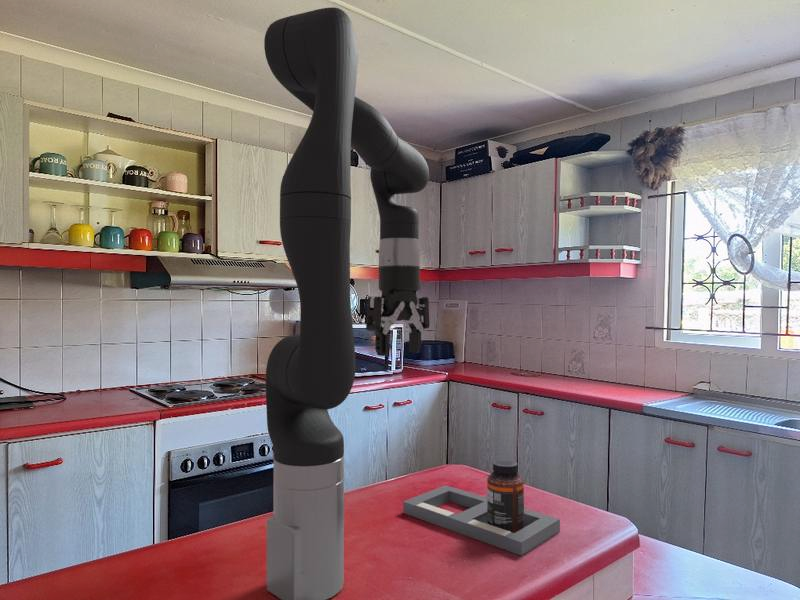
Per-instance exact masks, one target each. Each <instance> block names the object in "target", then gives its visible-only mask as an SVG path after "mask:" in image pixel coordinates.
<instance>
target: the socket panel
mask: <svg viewBox="0 0 800 600" xmlns="http://www.w3.org/2000/svg"><path fill="white" fill-rule="evenodd" d="M449 502H450V503H453V504H457V505H459V506H463V507H466V508H467V509H465V510H462V511H461V512H459V513H455V512H453V511H449V510H447V509H444V508H440V507H439V506H441V505H442V506H443V505H444V504H446V503H449ZM402 505H403V506H402V512H403V514H406V515H408V516H411V517H413V518H417V519H418V520H419V519H420V520H422V521H424V522H427V523H431V524H434V525H436V526H439V527H441V528H445V529H447V530H448V531H452V532H455V533H457V534H461V535H462V536H467V537H469V538H471V539H475V540H477V541H480V542H481V543H485V544H488V545H490V546H494V547H497V548H500V549H502V550H504V549H505V551H508V552H510V553H513V554H516V555H519V556H521V555H522V556H524V555H525V554H527V553H528V552H530V551H531V550H533V549H534V548H536V547H538V546H539V545H541V544H542V543H544V542H545V541H547V540H548V539H550V538H551V537H553V536H555V535H556V534H558V533H559V532H561V519H560V518H558V517H555V516H552V515H548V514H546V513H545V514H544V513H541V512H537V511H535V510H531V509H527V508H525V507H524V528H523V529H521V530H519V531H517V532H516V533H512V532H510V531H507V530H504V529H501V528H498V527H495V526H492V525H489V524H487V496H484V495H480V494H476V493H473V492H470V491H467V490H463V489H460V488H456V487H453V486H449V485H446V484H445V485H441V486H440V487H436V488H435V489H431V490H429V491H427V492H424V493H421V494H419V495H417V496H415V497H411V498H409V499H406V500H404V501H402ZM523 554H524V555H523Z"/></svg>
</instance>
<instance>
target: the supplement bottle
mask: <svg viewBox="0 0 800 600" xmlns="http://www.w3.org/2000/svg"><path fill="white" fill-rule="evenodd" d="M518 466H519V465H518V462H517V461H515V460H511V459H496V460H494V461H493V462H492V470H493V471H492V472H491V473H490V474H489V475H488V477H487V479H486V481H487V482H486V483H487V484H486V485H487V486H486V487H487V488H486V491H487V492H486V493H487V495H486V497H487V524H489V525H492V526H495V527H498V528H501V529H504V530H507V531H510V532H512V533H516V532H517V531H519V530H521V529H523V528H524V527H525V525H524V508H525V493H524V492H525V486H524V485H525V484H524V481H525V480H524V478H523V476H521V475H520V474H519V472H518V471H519V469H518Z"/></svg>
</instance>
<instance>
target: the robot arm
mask: <svg viewBox="0 0 800 600" xmlns="http://www.w3.org/2000/svg"><path fill="white" fill-rule="evenodd" d="M355 31H356V30H355V29H354V25H353V22H352V20H351V18H350V17H349V15H348V14H347V12H345V11H344V10H342V9H341V8H339V7H323V8H318V9H313V10H309V11H305V12H301V13H298V14H293V15H289V16H286V17H282V18H278V19H277V20H275V21H273V22H271V24H269V26H268V27H267V30H266V32H265V35H264V40H263V41H264V42H263V45H264V46H263V48H264V54H265V58H266V62H267V64H268V67H269V69H270V71H271V73H272V74H273V76H274V78H275V79H276V80H277V82H278V83H279V84H281V86H282V87H283V88H284V89H286V91H288V93H290V94H291V95H292V96H294V97H295V98H296V99H298V101H300V102H301V103H302V104H304V105H305V106H306V107H308V108H309V109H310V110H311V111H312V116H311V119H310V122H309V124H308V127H307V129H306V131H305V132H304V134H303V137H302V138H301V140H300V142H299V144H298V146H297V147H296V149H295V151H294V153H293V154H292V156H291V158H290V160H289V163H288V164H287V166H286V168H285V171H284V173H283V176H282V178H281V179H282V180H281V183H280V190H279V231H280V238H281V244H282V246H283V247H282V248H283V251H284V253H285V256H286V259H287V262H288V265H289V267H290V269H291V273H292V274H293V277H294V281H295V283H296V287H297V290H298V296H299V304H300V317H299V320H300V321H299V322H300V324H299V334H292V335H288V336H285V337H283V338H282V339H279V340H278V342H277V343H275V345H273V348H272V349H271V351H270V353H269V356H268V359H267V362H266V368H265V401H266V402H265V403H266V426H267V433H268V436H269V439H270V441H271V444H272V449H273V453H272V455H273V481H272V482H273V483H272V484H273V490H272V491H273V497H272V498H273V500H272V501H273V507H272V508H273V513H272V514H273V515H272V516H269V517H267V519H266V590H267V592H268V593H271V594H273V595H274V596H276V597H277V598H279V599H280V600H329V599H331V598H333V597H335V596H336V595H337V594H339V593H340V592H341V590H342V589H343V587H344V582H345V581H344V580H345V579H344V576H345V575H344V574H345V573H344V570H345V568H344V565H345V563H344V562H345V559H344V558H345V554H344V553H345V551H344V550H345V549H344V548H345V547H344V546H345V545H344V544H345V540H344V539H345V533H344V532H345V530H344V529H345V521H344V520H345V503H344V502H345V441H344V440H345V439H344V436H343V435H344V434H342V432H341V430H340V429H339V428H338V426H336V425H335V424H334V421H333V420H332V419H331V416H330V414H329V410H332V409H334V408H336V407H338V406H340V405H341V404H342V403H343V402H344V401H345V400H346V399H347V398H348V396H349V395H350V393H351V391H352V388H353V385H354V382H355V378H356V370H357V369H356V364H357V363H356V350H355V348H356V347H355V338H354V337H355V335H354V326H353V316H352V305H351V303H352V301H351V258H350V257H351V255H350V254H351V252H350V251H351V246H350V245H351V226H352V225H351V222H352V192H351V191H352V189H351V186H352V185H351V163H352V159H351V153H352V152H351V151H352V150H351V149H353V150H354V151H355V152H356V154H357V155H358V156H359V157H360V159H362V161H363V162H364V163H365V164H366V165H367V167H369V168H370V174H369V176H370V177H369V179H370V182H371V186H372V189H373V194H374V197H375V200H376V204H377V205H376V206H377V210H378V215H379V247H378V290H379V291H381V296H368V297H367V300H366V321H365V323H366V324H365V328H366V330H367V331H370V332H372V333H374V335H375V336H374V337H375V347H374V348H375V353H376V355H377V356H380V357H381V356H382V357H386V356H389V334H388V333H389V331H390V329H391V327H392V326H393V325H395V323H396V322H399V321H400V322H401V321H403V323H404V324H406V326H407V328H408V329H409V331H410V332H408V351H409V352H410V353H415V354H416V353H417V354H418V353H420V352H421V348H422V332H424V330H426V329H429V328H430V304H429V303H430V302H429V297H427V296H417V292H418V291H420V289H421V253H420V252H421V251H420V245H419V244H420V243H419V242H420V241H419V237H420V236H419V232H420V231H419V230H420V229H419V220H420V219H419V213H418V210H417V209H416V208H415V207H411V206H408V205H407V206H406V205H400V204H397V202H396V199H395V195H404V194H405V195H407V194H414V193H415V194H416V193H419V192H421V191H423V190H424V189H425V188H426V186H428V183H429V179H430V170H429V165H428V163H427V161H426V159H425V158H424V156H423V155H422V153H421V152H419V150H417V149H416V148H415V147H414V146H412V145H410V144H409V143H408V142H406V141H405V140H404V139H402V138H401V137H399V136H398V135H397V133H396V132H395V131H394V129H393V128H392V126H391V124H390V123H389V122H388V120H387V119H386V117H385V116H384V115H383V114H382V113H381V112H380V111H379V110H378V109H376V108H375V107H374V106H372V105H371V104H370V103H368V102H366V101H364V100H362V99H361V98H359V97H357V96H356V87H357V86H356V85H357V77H358V76H357V74H358V64H359V62H358V55H359V54H358V43H357V36H356V32H355ZM422 317H423V318H422ZM422 320H423V321H422Z"/></svg>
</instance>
